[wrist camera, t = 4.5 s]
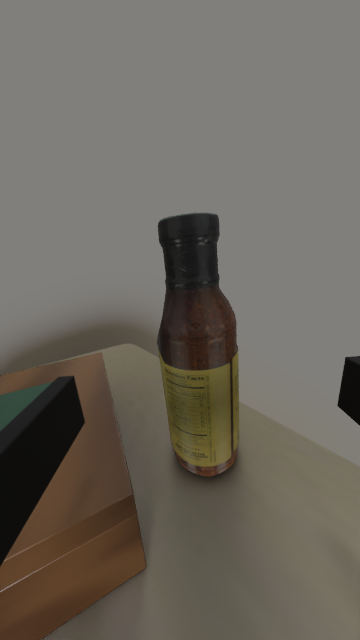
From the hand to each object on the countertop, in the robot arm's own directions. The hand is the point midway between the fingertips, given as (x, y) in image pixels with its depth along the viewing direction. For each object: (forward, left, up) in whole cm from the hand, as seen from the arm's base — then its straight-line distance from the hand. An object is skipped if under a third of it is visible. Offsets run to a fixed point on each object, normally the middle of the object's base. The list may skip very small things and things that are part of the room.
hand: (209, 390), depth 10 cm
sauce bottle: (-3, -6, -11) cm, 13 cm away
